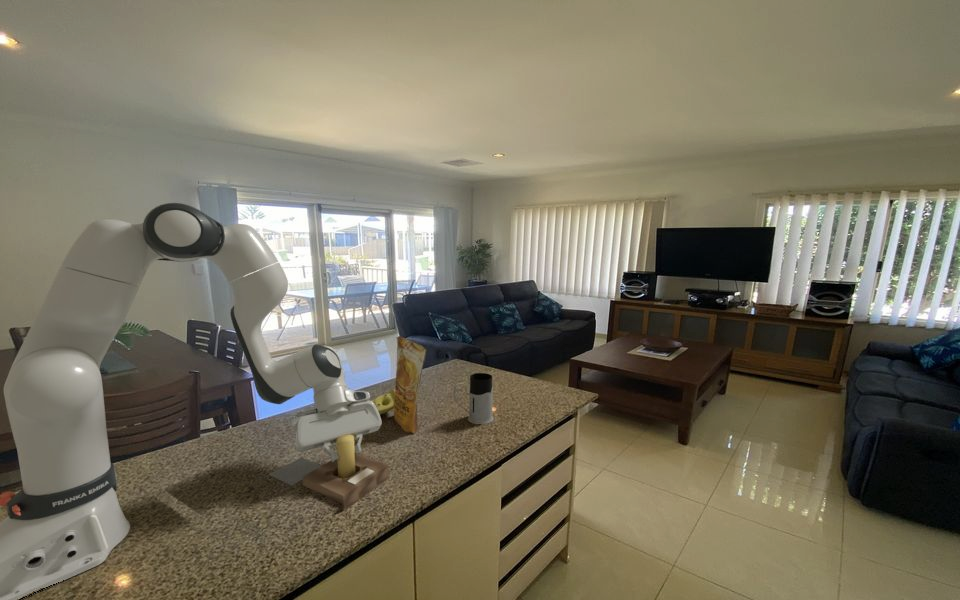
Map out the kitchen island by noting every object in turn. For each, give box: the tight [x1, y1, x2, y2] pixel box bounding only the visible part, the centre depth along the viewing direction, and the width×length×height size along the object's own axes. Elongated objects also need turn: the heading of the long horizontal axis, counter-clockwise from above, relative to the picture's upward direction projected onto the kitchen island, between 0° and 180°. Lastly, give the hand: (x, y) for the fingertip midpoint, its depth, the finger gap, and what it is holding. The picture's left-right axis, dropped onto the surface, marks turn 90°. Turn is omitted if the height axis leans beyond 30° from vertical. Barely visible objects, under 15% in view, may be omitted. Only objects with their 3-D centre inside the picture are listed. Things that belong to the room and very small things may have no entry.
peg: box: [336, 435, 356, 479], centre depth 91 cm, size 4×4×10 cm
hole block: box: [301, 453, 390, 511], centre depth 91 cm, size 14×14×4 cm
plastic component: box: [371, 388, 395, 415], centre depth 131 cm, size 20×7×10 cm
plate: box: [268, 457, 322, 487], centre depth 95 cm, size 9×9×2 cm
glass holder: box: [453, 372, 494, 425], centre depth 126 cm, size 9×14×15 cm, turn 115°
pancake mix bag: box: [393, 335, 427, 434], centre depth 123 cm, size 7×19×28 cm, turn 31°
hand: (346, 457), depth 90 cm, fingers closed on peg, 4 cm apart
